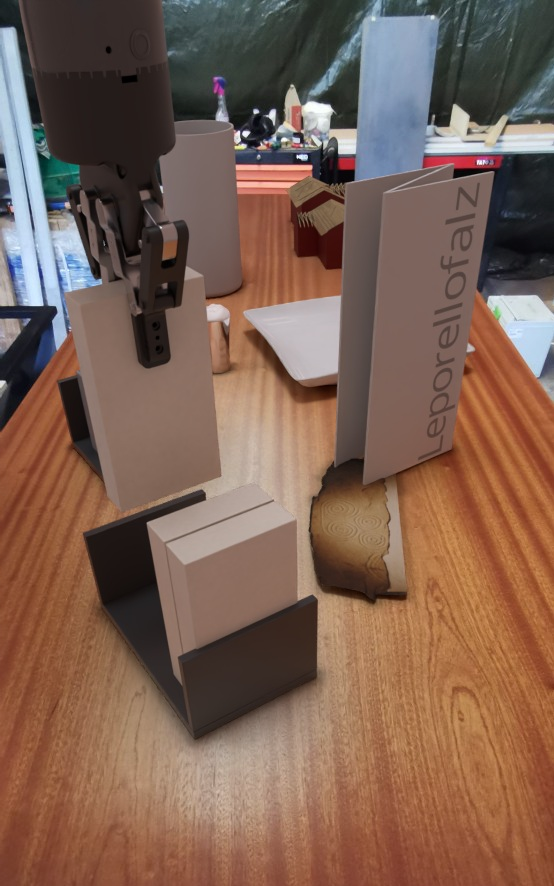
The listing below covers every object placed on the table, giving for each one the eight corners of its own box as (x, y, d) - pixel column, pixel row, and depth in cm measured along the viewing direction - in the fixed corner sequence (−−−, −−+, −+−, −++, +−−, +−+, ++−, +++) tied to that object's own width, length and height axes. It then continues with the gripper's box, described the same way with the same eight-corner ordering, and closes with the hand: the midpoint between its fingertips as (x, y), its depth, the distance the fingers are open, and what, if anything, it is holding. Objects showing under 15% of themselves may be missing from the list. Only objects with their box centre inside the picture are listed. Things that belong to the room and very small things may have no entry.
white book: (121, 513, 57) (79, 305, 46) (107, 496, 59) (63, 292, 48) (222, 476, 61) (204, 275, 50) (205, 461, 62) (184, 264, 52)
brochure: (364, 486, 84) (385, 193, 65) (333, 467, 88) (344, 183, 68) (451, 449, 91) (494, 171, 71) (419, 432, 94) (452, 163, 75)
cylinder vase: (166, 297, 132) (145, 135, 115) (184, 274, 141) (168, 119, 124) (234, 300, 130) (223, 135, 113) (248, 276, 139) (240, 120, 122)
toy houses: (278, 221, 165) (277, 169, 158) (367, 214, 167) (370, 163, 160) (316, 291, 132) (317, 230, 125) (427, 282, 134) (433, 221, 127)
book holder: (194, 740, 59) (167, 578, 48) (101, 607, 71) (61, 453, 60) (317, 676, 64) (319, 515, 52) (210, 562, 76) (192, 411, 64)
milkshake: (199, 362, 111) (192, 294, 105) (234, 362, 111) (230, 294, 104) (196, 375, 108) (188, 306, 101) (232, 375, 108) (227, 306, 101)
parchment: (407, 601, 70) (408, 594, 69) (304, 596, 70) (304, 589, 70) (395, 466, 89) (396, 459, 88) (314, 463, 89) (314, 456, 88)
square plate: (475, 373, 106) (479, 347, 103) (295, 405, 100) (295, 378, 98) (396, 307, 125) (398, 283, 123) (242, 331, 120) (240, 306, 117)
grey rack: (117, 497, 85) (99, 410, 77) (72, 446, 94) (52, 364, 86) (208, 465, 90) (199, 380, 82) (157, 419, 98) (145, 339, 91)
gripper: (-6, 51, 44) (59, 336, 55) (83, 75, 35) (138, 409, 46) (111, 40, 47) (149, 313, 58) (220, 60, 38) (240, 377, 49)
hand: (144, 354), depth 52 cm, fingers closed on white book, 3 cm apart
